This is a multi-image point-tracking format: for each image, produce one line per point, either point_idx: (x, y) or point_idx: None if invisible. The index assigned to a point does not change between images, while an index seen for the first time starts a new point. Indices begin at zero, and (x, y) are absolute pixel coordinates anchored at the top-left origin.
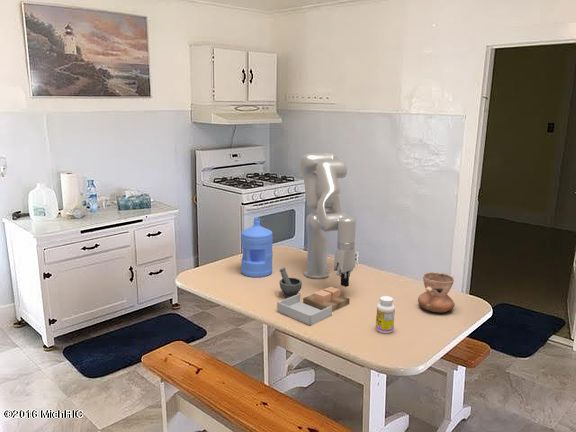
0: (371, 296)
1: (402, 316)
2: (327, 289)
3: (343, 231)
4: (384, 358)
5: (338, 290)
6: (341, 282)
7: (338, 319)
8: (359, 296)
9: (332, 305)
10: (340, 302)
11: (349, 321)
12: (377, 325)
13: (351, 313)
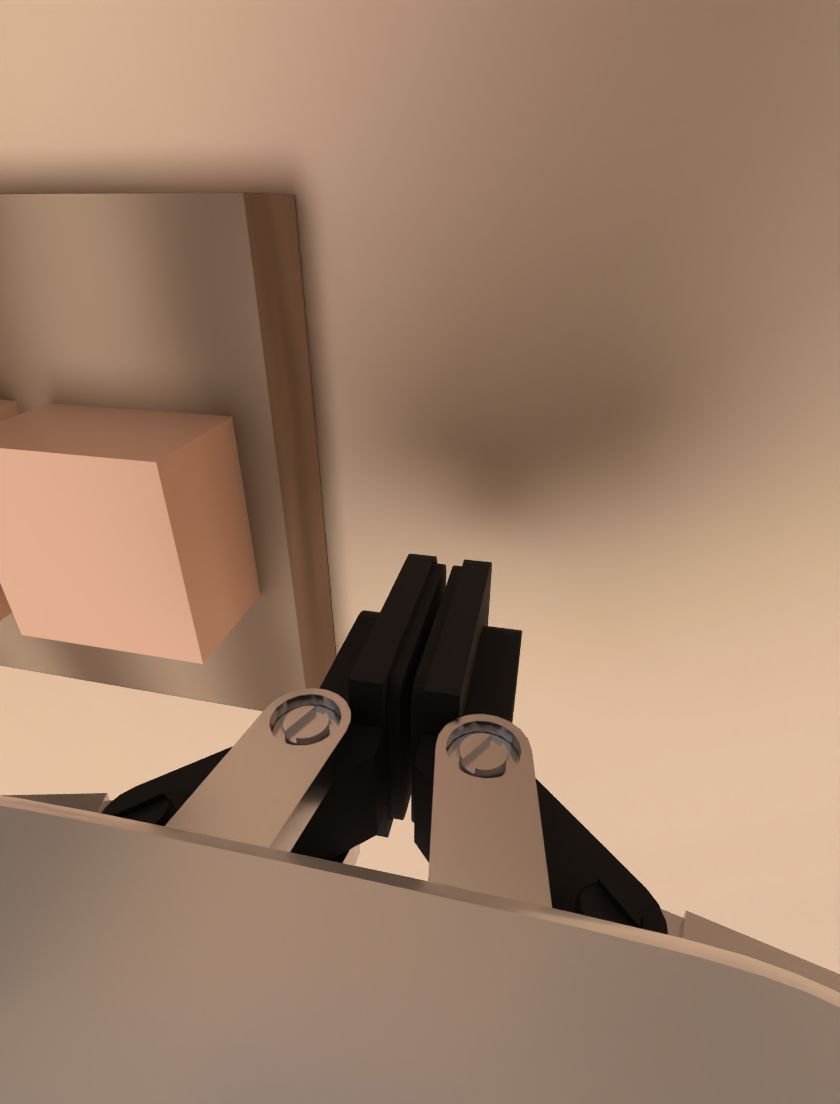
0: (751, 776)
1: None
2: (7, 501)
3: None
4: None
5: (165, 652)
6: (354, 631)
7: (20, 722)
8: (645, 667)
9: (3, 656)
10: (130, 687)
11: (79, 791)
12: None
13: (188, 759)
